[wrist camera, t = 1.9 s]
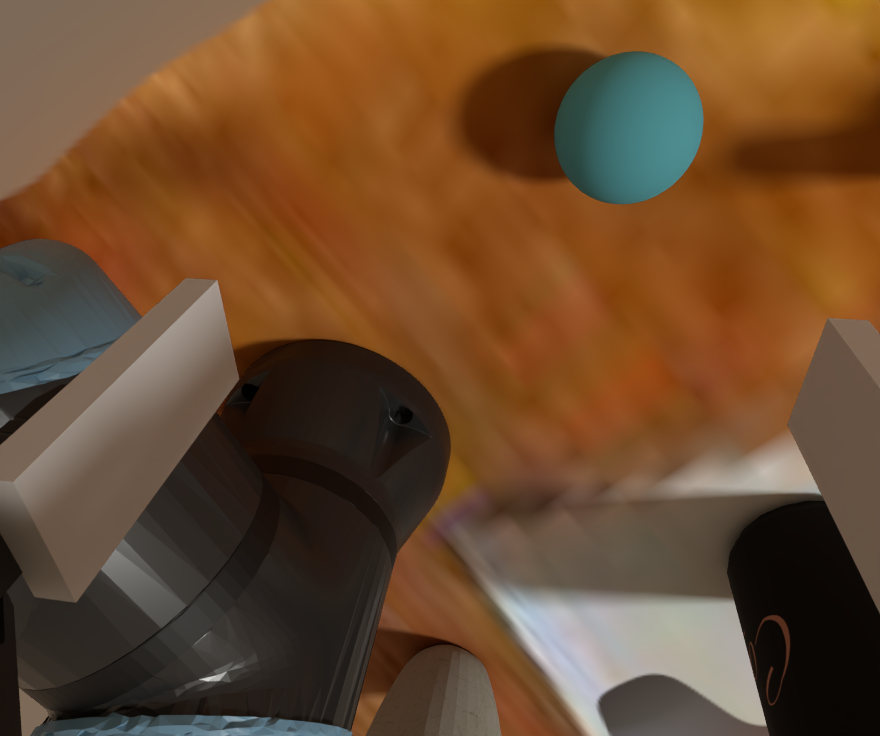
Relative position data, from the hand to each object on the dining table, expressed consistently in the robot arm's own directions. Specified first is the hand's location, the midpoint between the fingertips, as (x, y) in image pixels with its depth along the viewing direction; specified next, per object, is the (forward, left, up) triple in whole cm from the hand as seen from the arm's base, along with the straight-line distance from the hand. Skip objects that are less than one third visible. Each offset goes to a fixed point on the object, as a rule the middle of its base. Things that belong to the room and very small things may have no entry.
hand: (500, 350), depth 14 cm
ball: (+4, +1, -17) cm, 17 cm away
